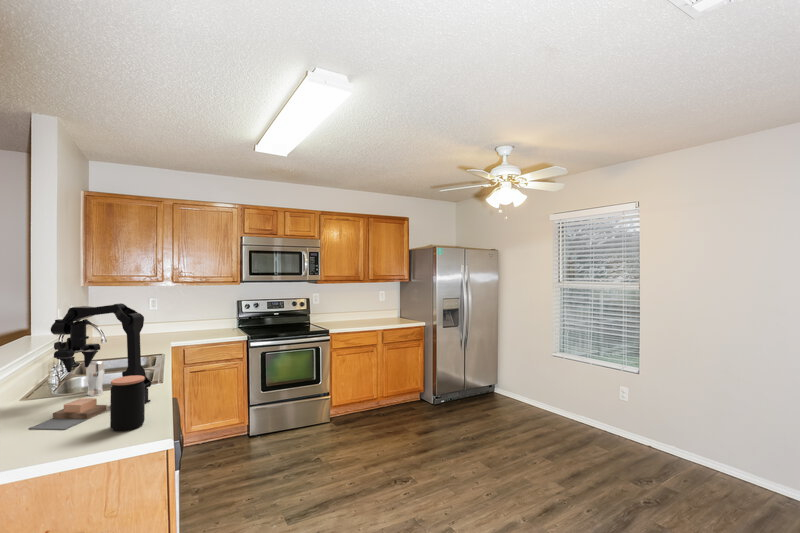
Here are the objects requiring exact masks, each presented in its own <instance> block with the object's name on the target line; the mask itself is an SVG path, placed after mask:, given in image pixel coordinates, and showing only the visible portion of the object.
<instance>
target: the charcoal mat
mask: <svg viewBox="0 0 800 533" xmlns="http://www.w3.org/2000/svg"><path fill="white" fill-rule="evenodd" d="M85 421H88V420H87V419H62V418H53V417H52V418H50V419H48V420H45V421H43V422H41V423H38V424H35V425H33V426H31V427H29V428H28V430H37V431H38V430H47V431H48V430H49V431H53V430H54V431H66V430H68V429H71V428H72V427H74V426H77V425H79V424H81V423H83V422H85Z"/></svg>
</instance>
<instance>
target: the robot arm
mask: <svg viewBox="0 0 800 533" xmlns="http://www.w3.org/2000/svg"><path fill="white" fill-rule="evenodd" d="M107 314H114V316H115V318H116V319H117V320H118V321H119V322H120V323H121V326H122V329H123V331H124V332H125V334H126V350H127V351H126V352H127V354H126V355H127V368H126V369H125V370H124V371H122V372H121V375H122V376H121V377H125V376H135V375H138V376H144V377H145V379H144V381H143V382H144V383H145V404H147V403H149V402H151V399H149V388H150V387H152V383H153V382H152V381H151V380H150V379H149V377H147V374H146V370H145V369H144V367H143V366H142V360H141V358H142V357H141V356H142V355H141V331H142V330H143V327H144V322H145V317H144V315H143V314H141V313H140V312H138V311H136V310H135V309H133V308H130V307H128V306H127V305H126V304H124V303H114V304H108V305H103V306H102V305H101V306H88V305H87V306H84V305H83V306H72V307H69V308H68V310H67V313H66V314H65V315H64V317H63V318H58V319H55V320H54V322H53V324H52V325H51V327H50V332H51V334H53V335H55V336H58V335H59V336H60V335H61V336H62V335H63V336H64V335H65V336H66V335H67V336H69V337H67V339H66V341H63V342H62V341H61V340H60V341H56V342H54V344H53V349H54V350H55V351H54V353H53V359H56V360H59V361H61V362H62V363H63V366H64V368H65V370H66V372H67V373H68V374H69V373H71V372H72V370H73V366H74V362H75V358H76V357H75V356H74V355H75V354H78V353H81V354H82V355H83V360H84V368H87V367H88V366H89V364H90V363H91V362H93V359H94V357H95V356H96V354H97V353H98V352H99V351H100V350H101V345H100V343H87V340H88V339H89V338H90V337H89V335H87V325H92V322H91V321H90V320H89V319H88V318H91V317H93V316H98V315H99V316H100V315H107Z"/></svg>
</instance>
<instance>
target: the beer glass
mask: <svg viewBox="0 0 800 533" xmlns="http://www.w3.org/2000/svg"><path fill="white" fill-rule="evenodd" d="M85 369H86V371H85V373H86V374H85V376H86V382H87V388H88V389H87V393H86V394H87V396H88V397H94V396H95V397H97V396H101V395H103V394H104V389H103V381H104V378H105V361H104V360H99V361H98V360H97V361H91V363H90V364H89V366H88V367H85ZM102 393H103V394H102ZM100 394H101V395H100Z"/></svg>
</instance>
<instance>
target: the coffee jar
mask: <svg viewBox="0 0 800 533" xmlns="http://www.w3.org/2000/svg"><path fill="white" fill-rule="evenodd" d="M144 379H145V377H144V376H138V375H135V376H125V377H123V376H120V377H117V378H114V379H111V381H110V384H111V385H112V386H111V387H110V404H109V405H110V408H109V410H110V415H109V416H110V421H109V422H110V424H109V426H110V428H111V430H112V431H113V432H117V433H121V432H129V431H132V430H136V429H139V428H140V427H142V425H144V422H145V420H146V419H145V416H146V415H145V410H146V407H145V404H146V403H145V383H144V382H143V381H144Z"/></svg>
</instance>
